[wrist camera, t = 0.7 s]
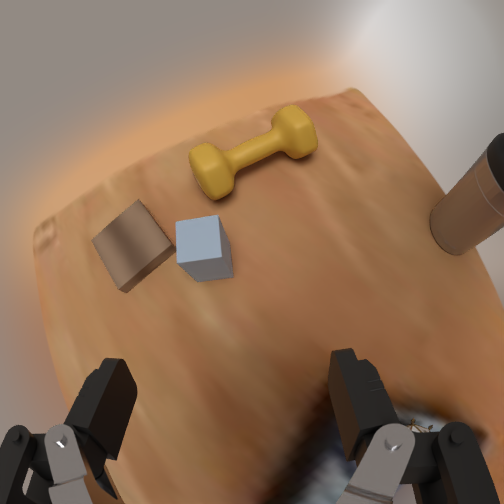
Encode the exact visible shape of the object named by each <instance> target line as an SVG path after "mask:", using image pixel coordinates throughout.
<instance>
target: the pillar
mask: <svg viewBox="0 0 504 504" xmlns="http://www.w3.org/2000/svg"><path fill="white" fill-rule="evenodd" d="M176 250H177V264H178V265H179V266H180V267H182V268H183V269H184V270H185V271H186V272H187V273H188V274H189V275H190V276H191V277H193V278H194V279H195V280H196V281H197V282H203V281H210V280H218V279H225V278H233V269H232V259H231V250H230V242H229V240H228V238H227V235H226V233H225V230H224V228H223V226H222V223H221V221H220V218H219V216H218V215H214V216H208V217H202V218H196V219H190V220H184V221H178V222H176Z"/></svg>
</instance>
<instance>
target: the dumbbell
mask: <svg viewBox="0 0 504 504" xmlns="http://www.w3.org/2000/svg"><path fill="white" fill-rule="evenodd" d="M271 125H272V129H271V130H270V131H269V132H268V133H265V134H263V135H260V136H258V137H255V138H253V139H250V140H248V141H246V142H244V143H242V144H240V145H238V146H236V147H235V148H233V149H231V150H227V151H224V150H221V149H219V148H217V147H216V146H214V145H213V144H210V143H203V144H200V145H198V146H196V147H194V148H192V149H191V150H190V152H189V163H190V166H191V169H192V171H193V173H194V176H195V178H196V180H197V182H198V184H199V185H200V187H201V189H202V190H203V191H204V193H205V194H206V195H207V196H208V197H209V198H210V199H212V200H218V199H220V198H222V197H224V196H226V195H227V194H229V193H230V192H231V191H232V190H233V187H234V176H235V174H236V172H237V171H238V170H240V169H242V168H244V167H246V166H249V165H251V164H253V163H255V162H257V161H259V160H261V159H263V158H265V157H267V156H269V155H271V154H273V153H275V152H277V151H284V152H285V153H286V154H287V155H288V156H290V157H291V158H294V159H298V158H301V157H304V156H306V155H308V154H310V153H312V152H314V151H315V150H316V149H317V147H318V140H317V135H316V131H315V127H314V124H313V122H312V120H311V119H310V118H309V116H308V115H307V114H306V113H305V112H304V111H303V110H302V109H301V108H299V107H298V106H297V105H289V106H286V107H284V108H282V109H280V110H279V111H278V112H277V113H276V114H275V115H274V116H273V118H272V120H271Z"/></svg>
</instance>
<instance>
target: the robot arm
mask: <svg viewBox="0 0 504 504" xmlns="http://www.w3.org/2000/svg"><path fill="white" fill-rule="evenodd" d="M430 226H431V231H432V234H433V236H434V238H435V240H436V241H437V243H438V244H439V245H440V246H441V247H442V248H443V249H444V250H445V251H447V252H448V253H450V254H453V255H461V254H463V253H465V252H467V251H468V250H470V249H472V248H473V247H475V246H476V245H478V244H479V243H481V242H482V241H484V240H485V239H487V238H488V237H490V236H491V235H493V234H494V233H496V232H497V231H498V230H500V229H501V228H503V227H504V133H501V134H499V135H497V136H496V137H495V138H494V139H493V141H492V142H491V143H490V144H489V146H488V147H487V149H486V150H485V151H484V152H483V154H481V156H480V157H479V158H478V160H477V161H476V162H475V163H474V164H473V165H472V167H471V168H470V169H469V170H468V171H467V173H466V174H465V175H464V176H463V177H462V178H461V179H460V180H459V182H458V183H457V184H456V185H455V186H454V187H453V189H451V190H450V192H449V193H448V194H447V195H446V196H445V197H444V198H443V199H442V200H441V201H440V202H439V203H438V204H437V205H436V206H435V208H434V209H433V210H432V213H431V216H430ZM328 388H329V393H330V397H331V401H332V405H333V409H334V412H335V416H336V420H337V424H338V428H339V432H340V436H341V440H342V444H343V448H344V452H345V457H346V461H347V462H348V461H352V460H355V461H356V464H357V469H356V471H355V473H354V475H353V476H352V478H351V480H350V482H349V483H348V485H347V487H346V488H345V490H344V491H343V493H342V495H341V496H340V498H339V499H338V501H337V502H336V504H393V501H392V499H393V496H394V494H395V492H396V489H397V487H398V485H399V484H412V487H413V491H414V494H415V499H416V503H417V504H500V501H499V498H498V495H497V492H496V489H495V486H494V483H493V480H492V478H491V475H490V472H489V470H488V467H487V465H486V462H485V460H484V457H483V455H482V452H481V450H480V448H479V445H478V443H477V441H476V438H475V436H474V434H473V432H472V430H471V429H470V427H469V426H467V425H466V424H464V423H462V422H451V423H448V424H447V425H445V426H444V427H443V428H442V429H441V430H440V432H414V431H411V430H410V429H409V428H408V427H406V426H404V425H402V424H401V423H400V421H399V419H398V417H397V415H396V412H395V410H394V408H393V405H392V403H391V401H390V398H389V396H388V394H387V392H386V389H384V385H383V383H382V380H380V376H379V374H378V372H377V369H376V367H374V366H373V365H372V364H371V363H370V362H369V361H368V360H367V359H364V360H359V361H358V360H357V358H356V355H355V353H354V351H353V349H352V348H348V349H342V350H335V351H332V352H331V359H330V367H329V375H328ZM136 398H137V386H136V383H135V381H134V379H133V377H132V375H131V373H130V371H129V369H128V366H127V364H126V362H125V361H124V360H123V359H116V358H105V359H104V360H103V362H102V364H101V365H100V367H99V369H95V370H94V371H93V372H92V373H91V374H90V375H89V376H88V377H87V378H86V380H85V382H84V384H83V386H82V388H81V390H80V392H79V396H77V398H76V400H75V402H74V404H73V406H72V408H71V410H70V412H69V414H68V416H67V418H66V420H65V422H64V424H59V425H56V426H53V427H52V428H50V429H49V430H48V432H47V433H46V434H31V433H30V432H29V430H28V429H27V428H26V427H24V426H22V425H16V426H14V427H12V428H11V429H9V431H8V432H7V434H6V436H5V438H4V440H3V442H2V445H1V447H0V504H125V503H124V502H123V500H122V498H121V496H120V494H119V492H118V490H117V488H116V486H115V484H114V482H113V480H112V478H111V475H110V473H109V471H108V469H107V467H106V465H105V461H106V458H107V459H111V460H116V461H117V457H118V454H119V451H120V447H121V444H122V441H123V438H124V435H125V431H126V428H127V425H128V422H129V419H130V416H131V413H132V410H133V407H134V404H135V401H136ZM28 468H30V469H32V470H33V475H32V477H31V480H30V484H29V487H28V490H27V493H26V495H24V493H23V490H22V486H23V483H24V480H25V477H26V474H27V471H28Z"/></svg>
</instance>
